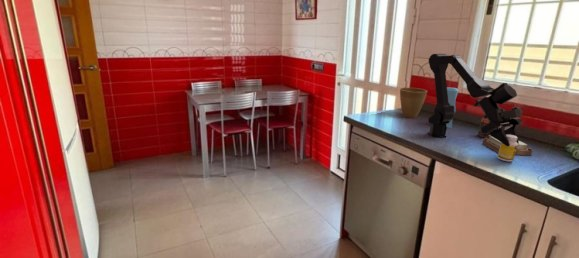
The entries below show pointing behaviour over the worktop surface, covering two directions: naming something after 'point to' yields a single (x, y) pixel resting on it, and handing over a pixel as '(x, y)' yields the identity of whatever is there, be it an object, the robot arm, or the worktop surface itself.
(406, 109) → the plant pot
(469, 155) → the worktop surface
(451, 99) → the vase
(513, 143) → the supplement bottle
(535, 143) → the worktop surface
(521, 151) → the brick base
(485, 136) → the supplement bottle
